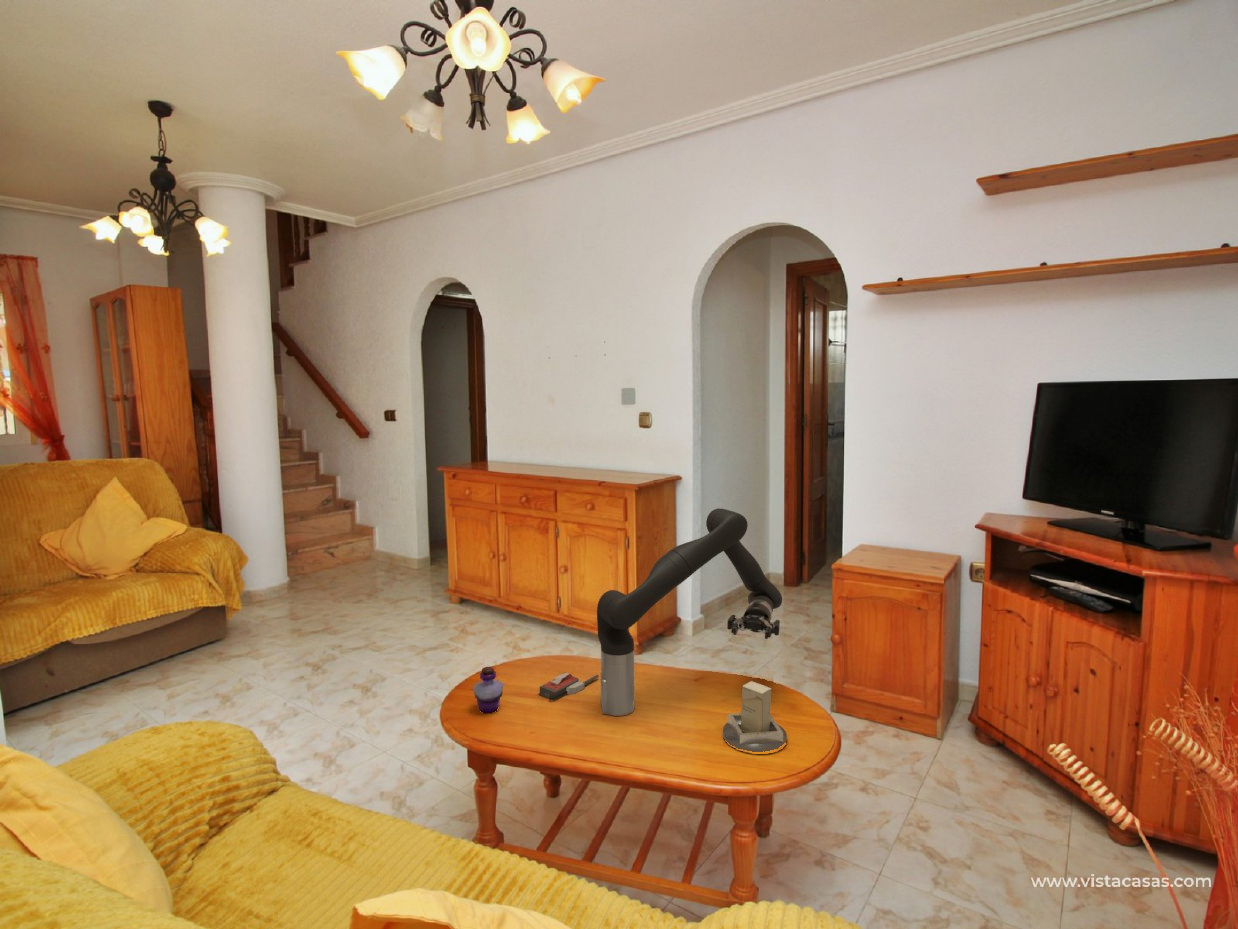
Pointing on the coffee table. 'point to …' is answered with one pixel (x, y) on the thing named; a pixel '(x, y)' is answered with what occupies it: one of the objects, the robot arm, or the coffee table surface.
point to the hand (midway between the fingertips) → (750, 633)
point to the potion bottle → (488, 691)
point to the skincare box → (755, 708)
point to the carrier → (753, 735)
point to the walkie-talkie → (563, 686)
